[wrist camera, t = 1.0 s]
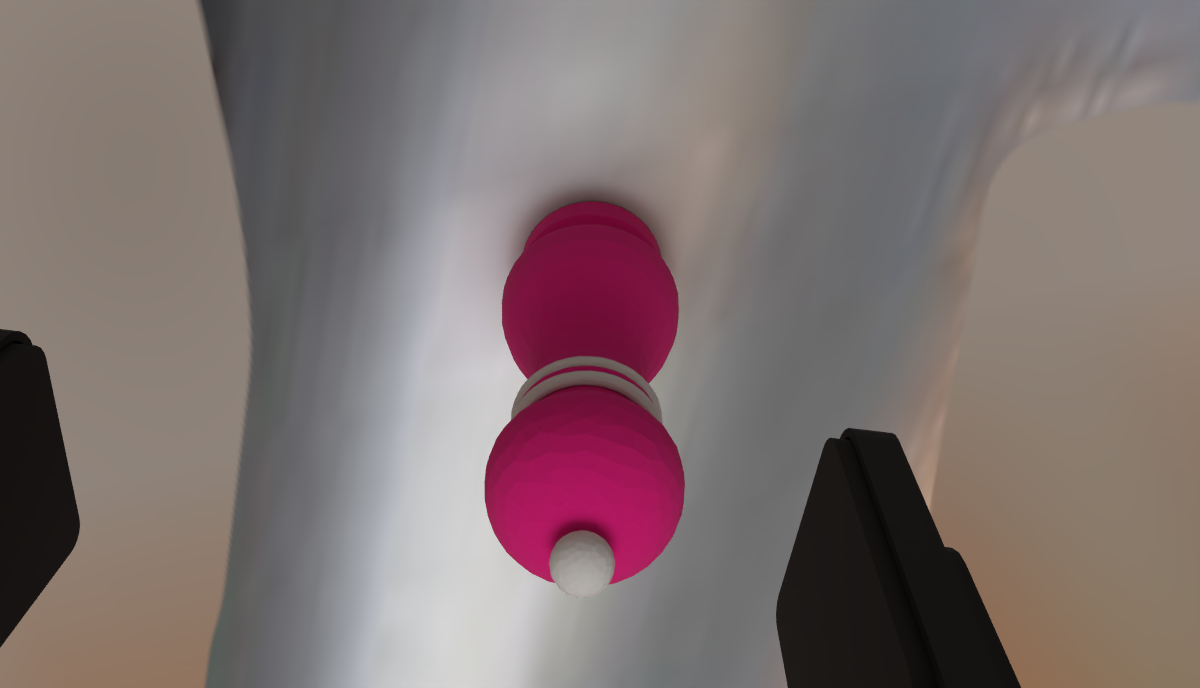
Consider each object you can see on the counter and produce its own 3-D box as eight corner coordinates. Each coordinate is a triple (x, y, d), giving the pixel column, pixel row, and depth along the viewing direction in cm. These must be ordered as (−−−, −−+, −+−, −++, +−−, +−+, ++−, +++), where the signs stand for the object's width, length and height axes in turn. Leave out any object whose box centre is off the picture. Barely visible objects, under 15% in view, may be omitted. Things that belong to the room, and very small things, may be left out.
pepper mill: (505, 191, 40) (427, 479, 23) (673, 186, 40) (725, 474, 22) (517, 337, 43) (458, 684, 26) (671, 334, 43) (715, 680, 26)
